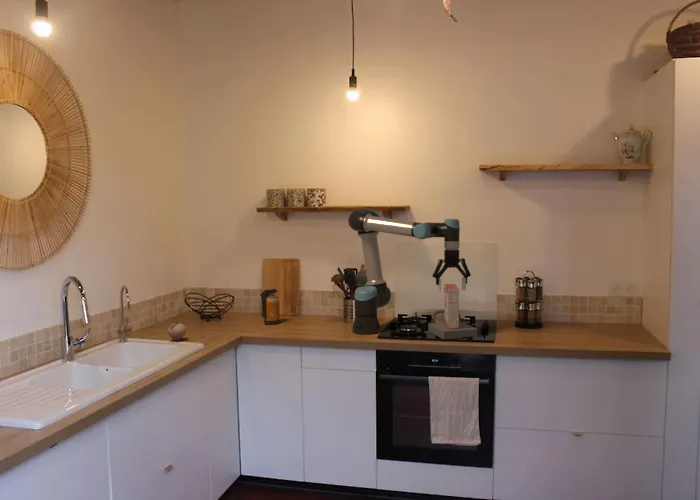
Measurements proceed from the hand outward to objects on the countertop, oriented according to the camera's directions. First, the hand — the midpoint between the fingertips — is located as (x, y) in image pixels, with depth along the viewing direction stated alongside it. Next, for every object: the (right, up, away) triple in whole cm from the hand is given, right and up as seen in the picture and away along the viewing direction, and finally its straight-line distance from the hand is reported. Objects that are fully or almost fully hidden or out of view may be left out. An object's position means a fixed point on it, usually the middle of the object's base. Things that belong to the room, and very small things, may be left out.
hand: (451, 290), depth 299 cm
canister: (-97, -22, +36) cm, 106 cm away
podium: (+1, -22, +2) cm, 22 cm away
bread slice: (+1, -21, +22) cm, 31 cm away
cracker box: (0, -18, +1) cm, 18 cm away
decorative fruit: (-139, -25, -3) cm, 141 cm away
